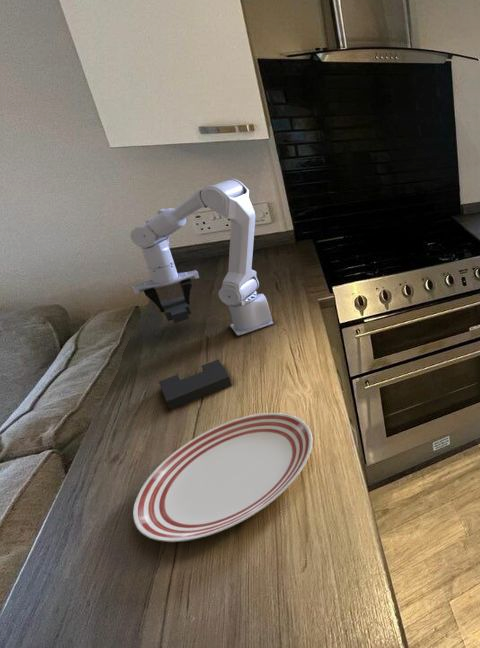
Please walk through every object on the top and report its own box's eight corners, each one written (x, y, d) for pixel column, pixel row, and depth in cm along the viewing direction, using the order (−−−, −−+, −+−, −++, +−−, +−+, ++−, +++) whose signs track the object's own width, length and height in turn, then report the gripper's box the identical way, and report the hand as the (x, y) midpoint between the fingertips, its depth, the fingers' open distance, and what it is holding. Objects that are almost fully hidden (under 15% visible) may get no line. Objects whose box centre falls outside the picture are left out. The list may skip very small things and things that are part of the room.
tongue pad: (185, 303, 133) (182, 296, 132) (193, 317, 125) (191, 309, 124) (162, 310, 129) (159, 302, 128) (170, 324, 122) (167, 316, 121)
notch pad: (221, 367, 113) (218, 359, 112) (231, 384, 106) (229, 376, 105) (161, 389, 104) (158, 381, 104) (169, 410, 98) (166, 401, 97)
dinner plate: (120, 589, 64) (113, 574, 63) (152, 459, 86) (147, 446, 84) (324, 499, 78) (321, 486, 76) (307, 407, 99) (304, 395, 98)
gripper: (189, 253, 130) (202, 294, 135) (125, 268, 120) (141, 311, 125) (194, 260, 126) (207, 301, 131) (128, 275, 116) (144, 320, 121)
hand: (175, 307), depth 128 cm, fingers closed on tongue pad, 5 cm apart
